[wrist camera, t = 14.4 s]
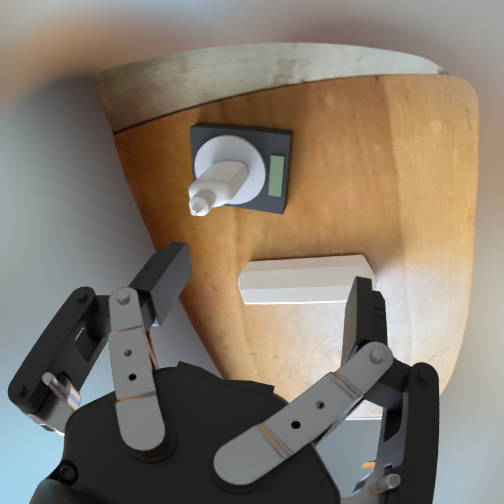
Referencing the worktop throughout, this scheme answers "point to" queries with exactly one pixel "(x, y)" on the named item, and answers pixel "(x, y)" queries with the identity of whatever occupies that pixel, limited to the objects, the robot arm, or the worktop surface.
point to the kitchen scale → (247, 161)
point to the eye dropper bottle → (217, 186)
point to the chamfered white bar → (302, 279)
